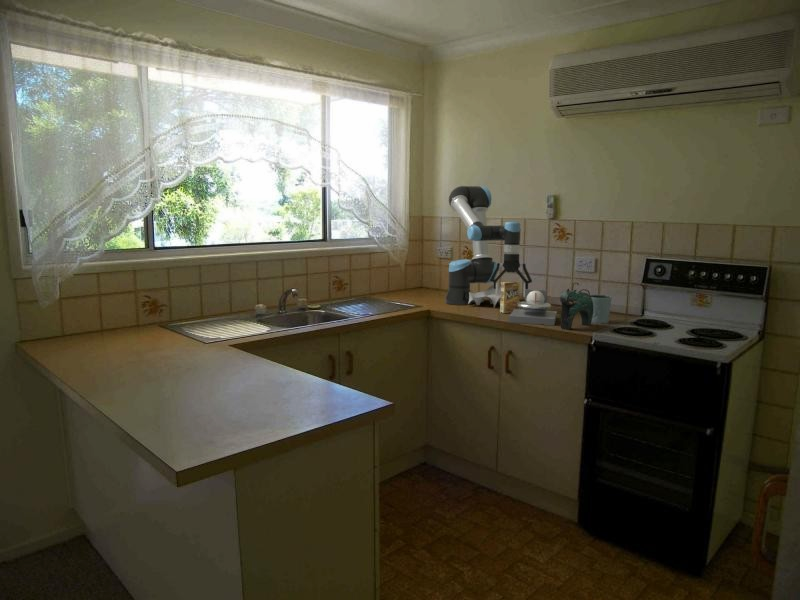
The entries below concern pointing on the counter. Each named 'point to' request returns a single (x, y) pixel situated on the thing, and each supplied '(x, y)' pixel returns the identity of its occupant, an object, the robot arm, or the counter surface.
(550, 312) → the kitchen scale
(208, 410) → the counter surface
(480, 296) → the white irregular piece
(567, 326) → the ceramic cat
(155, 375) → the counter surface
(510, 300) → the candy box
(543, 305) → the scale pan
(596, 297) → the pale blue cup
